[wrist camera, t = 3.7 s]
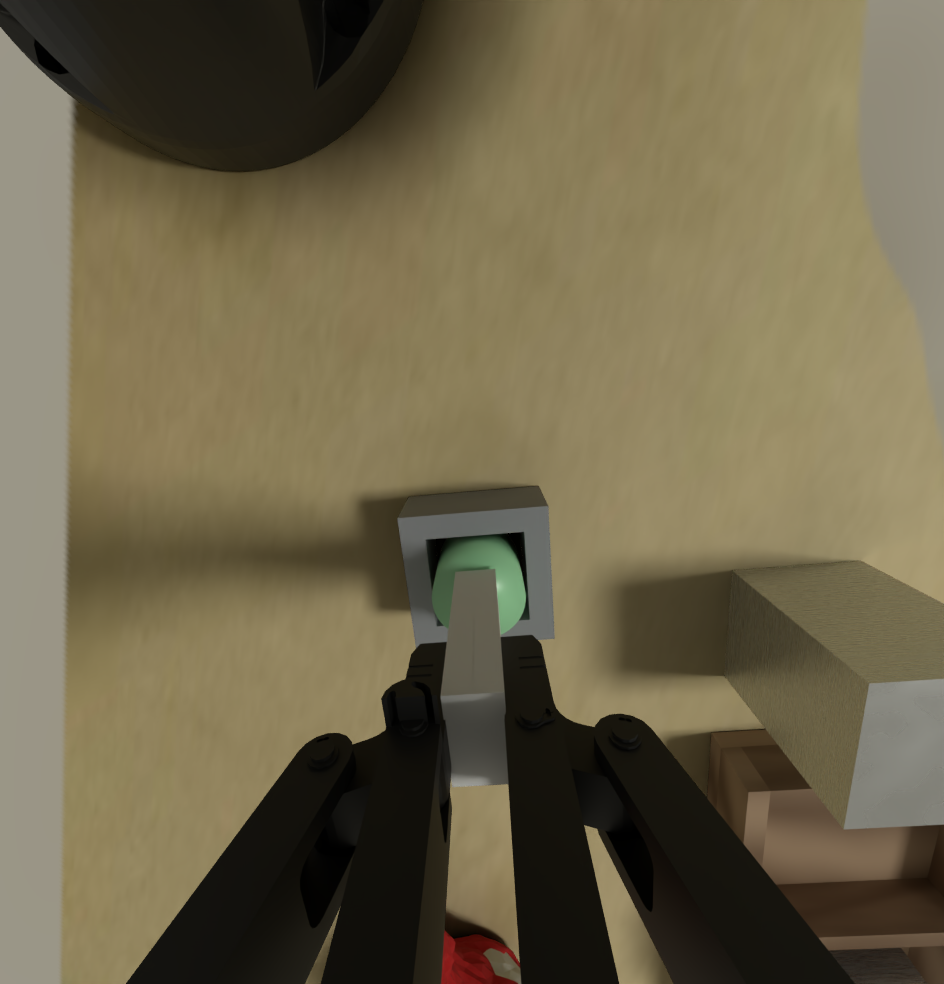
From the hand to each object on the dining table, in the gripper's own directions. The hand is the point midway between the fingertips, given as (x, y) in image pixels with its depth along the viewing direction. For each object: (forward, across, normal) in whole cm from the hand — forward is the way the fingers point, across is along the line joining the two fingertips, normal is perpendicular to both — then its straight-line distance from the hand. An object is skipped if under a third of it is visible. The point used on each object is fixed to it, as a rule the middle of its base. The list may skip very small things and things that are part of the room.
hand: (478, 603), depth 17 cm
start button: (+4, 0, 0) cm, 4 cm away
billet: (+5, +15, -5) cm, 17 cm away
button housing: (+5, 0, 0) cm, 5 cm away
